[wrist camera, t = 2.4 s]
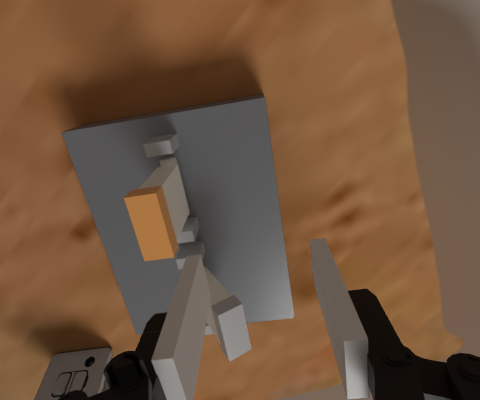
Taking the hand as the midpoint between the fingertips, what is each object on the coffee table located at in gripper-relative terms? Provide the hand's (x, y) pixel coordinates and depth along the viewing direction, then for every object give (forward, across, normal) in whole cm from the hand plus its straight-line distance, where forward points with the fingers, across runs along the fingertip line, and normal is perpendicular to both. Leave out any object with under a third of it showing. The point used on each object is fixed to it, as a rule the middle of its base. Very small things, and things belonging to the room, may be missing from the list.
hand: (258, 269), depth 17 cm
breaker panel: (+21, +8, +6) cm, 23 cm away
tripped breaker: (+16, +8, 0) cm, 18 cm away
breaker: (+16, +8, +12) cm, 21 cm away
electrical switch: (+21, +29, +27) cm, 45 cm away
